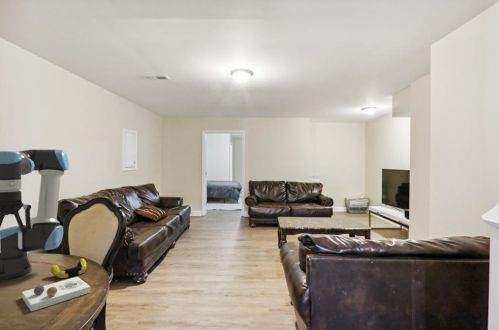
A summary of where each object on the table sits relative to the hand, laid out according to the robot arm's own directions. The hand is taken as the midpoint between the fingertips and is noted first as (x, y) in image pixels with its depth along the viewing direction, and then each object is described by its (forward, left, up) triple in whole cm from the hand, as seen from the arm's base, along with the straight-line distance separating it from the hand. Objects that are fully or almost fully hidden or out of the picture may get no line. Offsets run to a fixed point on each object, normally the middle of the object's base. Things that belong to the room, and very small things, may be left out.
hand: (9, 250), depth 108 cm
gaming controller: (-15, +25, -21) cm, 36 cm away
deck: (+6, +14, -21) cm, 26 cm away
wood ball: (+12, +11, -17) cm, 23 cm away
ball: (+6, +8, -17) cm, 19 cm away
